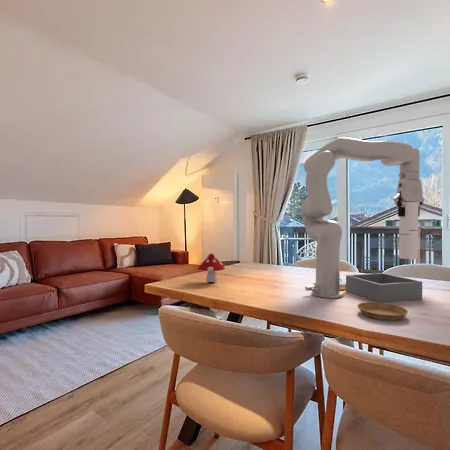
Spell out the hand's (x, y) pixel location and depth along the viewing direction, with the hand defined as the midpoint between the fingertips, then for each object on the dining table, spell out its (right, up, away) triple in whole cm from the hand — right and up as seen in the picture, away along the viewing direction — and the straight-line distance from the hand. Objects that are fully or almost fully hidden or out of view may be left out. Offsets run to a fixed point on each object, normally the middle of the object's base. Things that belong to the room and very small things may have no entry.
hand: (408, 216), depth 131 cm
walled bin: (-16, -33, -8) cm, 38 cm away
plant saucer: (-30, -34, -34) cm, 57 cm away
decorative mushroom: (-89, -34, +18) cm, 97 cm away
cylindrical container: (0, -19, 0) cm, 19 cm away
